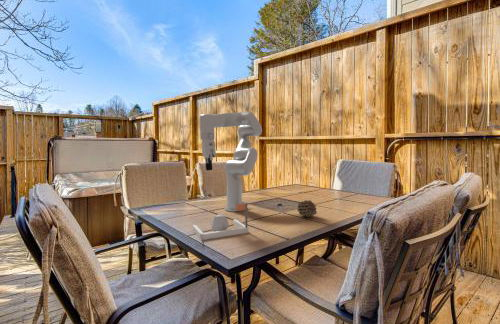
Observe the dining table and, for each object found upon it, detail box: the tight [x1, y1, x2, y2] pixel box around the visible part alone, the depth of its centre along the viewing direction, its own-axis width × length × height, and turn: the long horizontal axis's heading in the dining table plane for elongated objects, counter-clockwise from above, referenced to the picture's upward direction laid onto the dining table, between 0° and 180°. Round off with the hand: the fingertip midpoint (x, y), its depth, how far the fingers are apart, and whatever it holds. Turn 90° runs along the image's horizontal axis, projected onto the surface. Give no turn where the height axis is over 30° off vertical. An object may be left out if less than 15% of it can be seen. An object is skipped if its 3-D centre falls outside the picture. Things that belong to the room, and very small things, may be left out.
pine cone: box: [293, 199, 318, 218], centre depth 163 cm, size 22×10×10 cm, turn 26°
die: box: [209, 213, 230, 232], centre depth 134 cm, size 8×9×10 cm
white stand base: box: [192, 202, 249, 241], centre depth 135 cm, size 23×16×14 cm
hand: (209, 170), depth 156 cm, fingers closed
